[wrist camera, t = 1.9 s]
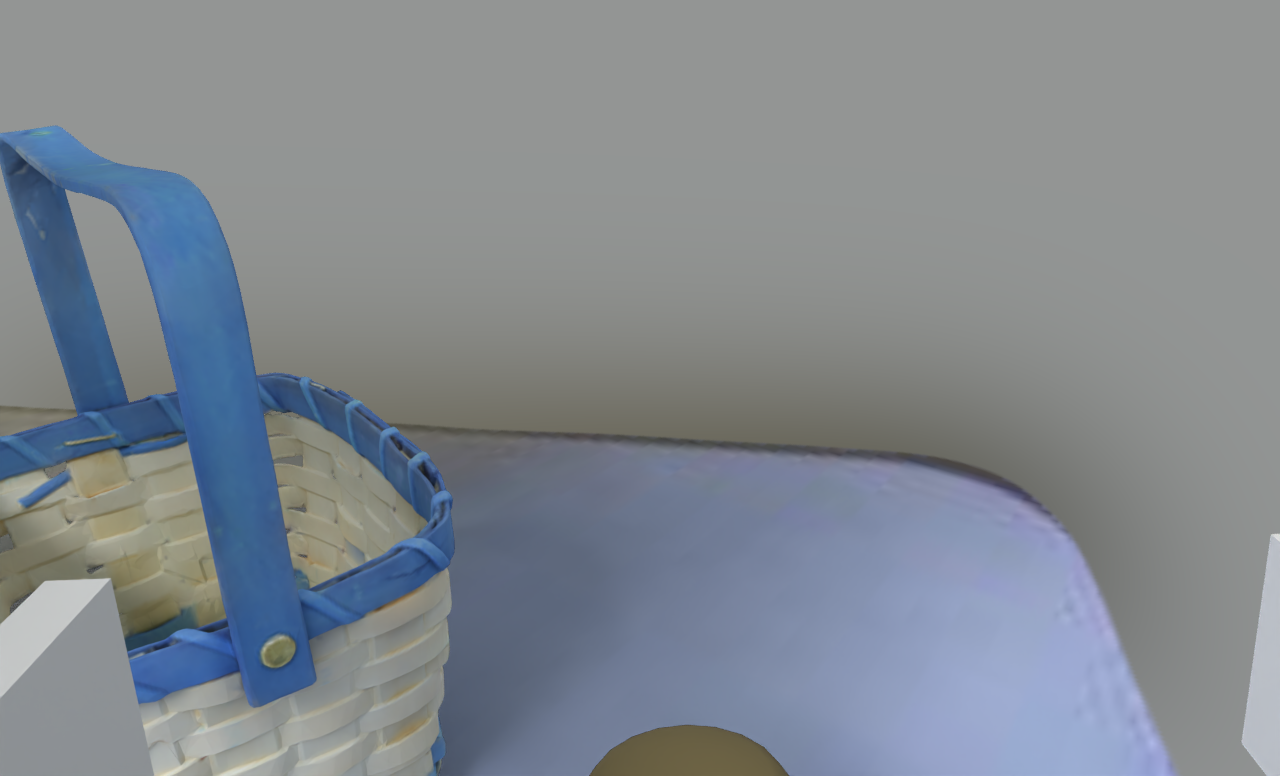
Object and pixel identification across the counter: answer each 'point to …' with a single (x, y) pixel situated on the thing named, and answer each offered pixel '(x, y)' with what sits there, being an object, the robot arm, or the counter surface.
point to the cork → (688, 754)
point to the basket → (225, 507)
